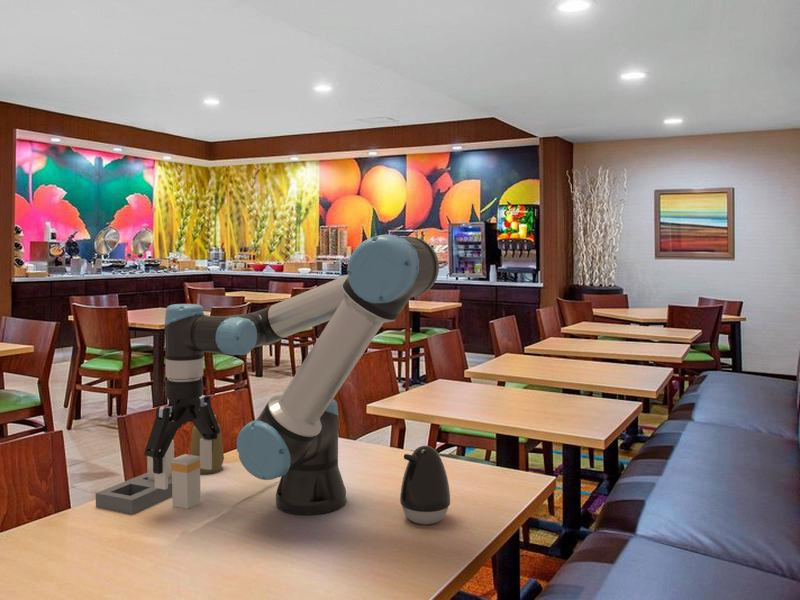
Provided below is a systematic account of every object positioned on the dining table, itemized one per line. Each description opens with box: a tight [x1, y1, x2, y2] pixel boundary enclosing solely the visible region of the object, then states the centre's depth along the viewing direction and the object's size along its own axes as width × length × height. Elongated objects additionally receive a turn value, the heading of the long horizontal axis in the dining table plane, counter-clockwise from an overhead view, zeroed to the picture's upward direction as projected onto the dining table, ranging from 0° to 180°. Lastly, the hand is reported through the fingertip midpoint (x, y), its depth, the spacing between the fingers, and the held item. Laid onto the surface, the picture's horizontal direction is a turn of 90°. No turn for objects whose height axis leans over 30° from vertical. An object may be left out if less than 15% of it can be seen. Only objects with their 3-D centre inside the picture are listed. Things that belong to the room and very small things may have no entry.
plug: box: [171, 453, 201, 510], centre depth 142 cm, size 4×4×11 cm
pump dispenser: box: [399, 445, 451, 525], centre depth 136 cm, size 10×10×15 cm
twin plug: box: [146, 439, 175, 481], centre depth 150 cm, size 4×4×14 cm
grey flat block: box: [95, 471, 172, 516], centre depth 146 cm, size 10×18×4 cm, turn 157°
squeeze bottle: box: [189, 414, 225, 475], centre depth 164 cm, size 8×8×18 cm
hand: (184, 478), depth 142 cm, fingers open, 13 cm apart
